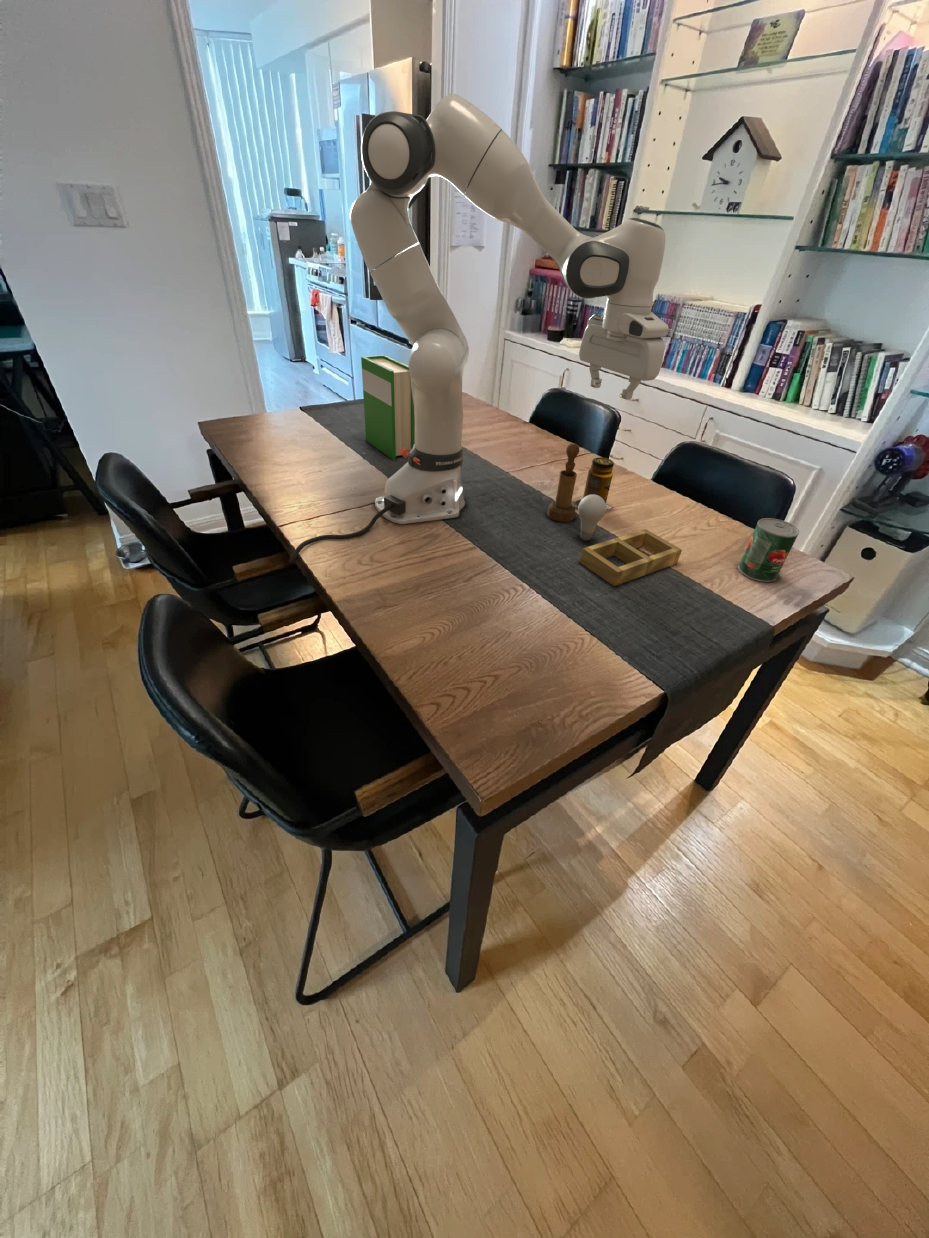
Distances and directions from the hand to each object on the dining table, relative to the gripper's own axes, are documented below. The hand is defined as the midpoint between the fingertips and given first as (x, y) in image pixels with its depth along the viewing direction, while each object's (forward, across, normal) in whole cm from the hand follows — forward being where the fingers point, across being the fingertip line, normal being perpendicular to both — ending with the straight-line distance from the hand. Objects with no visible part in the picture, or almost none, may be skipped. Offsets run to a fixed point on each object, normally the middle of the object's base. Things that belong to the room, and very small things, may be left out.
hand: (610, 392), depth 114 cm
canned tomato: (+29, +38, +16) cm, 51 cm away
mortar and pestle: (+29, -2, -6) cm, 30 cm away
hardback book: (+29, -61, -24) cm, 72 cm away
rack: (+29, +22, -7) cm, 37 cm away
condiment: (+29, -3, +5) cm, 30 cm away
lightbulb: (+29, +10, -9) cm, 32 cm away
